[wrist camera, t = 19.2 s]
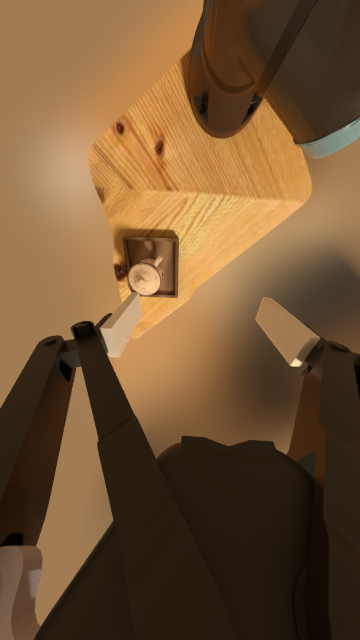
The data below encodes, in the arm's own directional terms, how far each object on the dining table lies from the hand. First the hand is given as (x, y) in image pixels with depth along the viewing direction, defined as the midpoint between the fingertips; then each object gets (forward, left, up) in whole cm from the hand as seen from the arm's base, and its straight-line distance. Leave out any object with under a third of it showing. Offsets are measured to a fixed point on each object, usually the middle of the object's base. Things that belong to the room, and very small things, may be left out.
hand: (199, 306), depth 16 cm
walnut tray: (+12, +4, -35) cm, 37 cm away
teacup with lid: (+12, +4, -34) cm, 36 cm away
